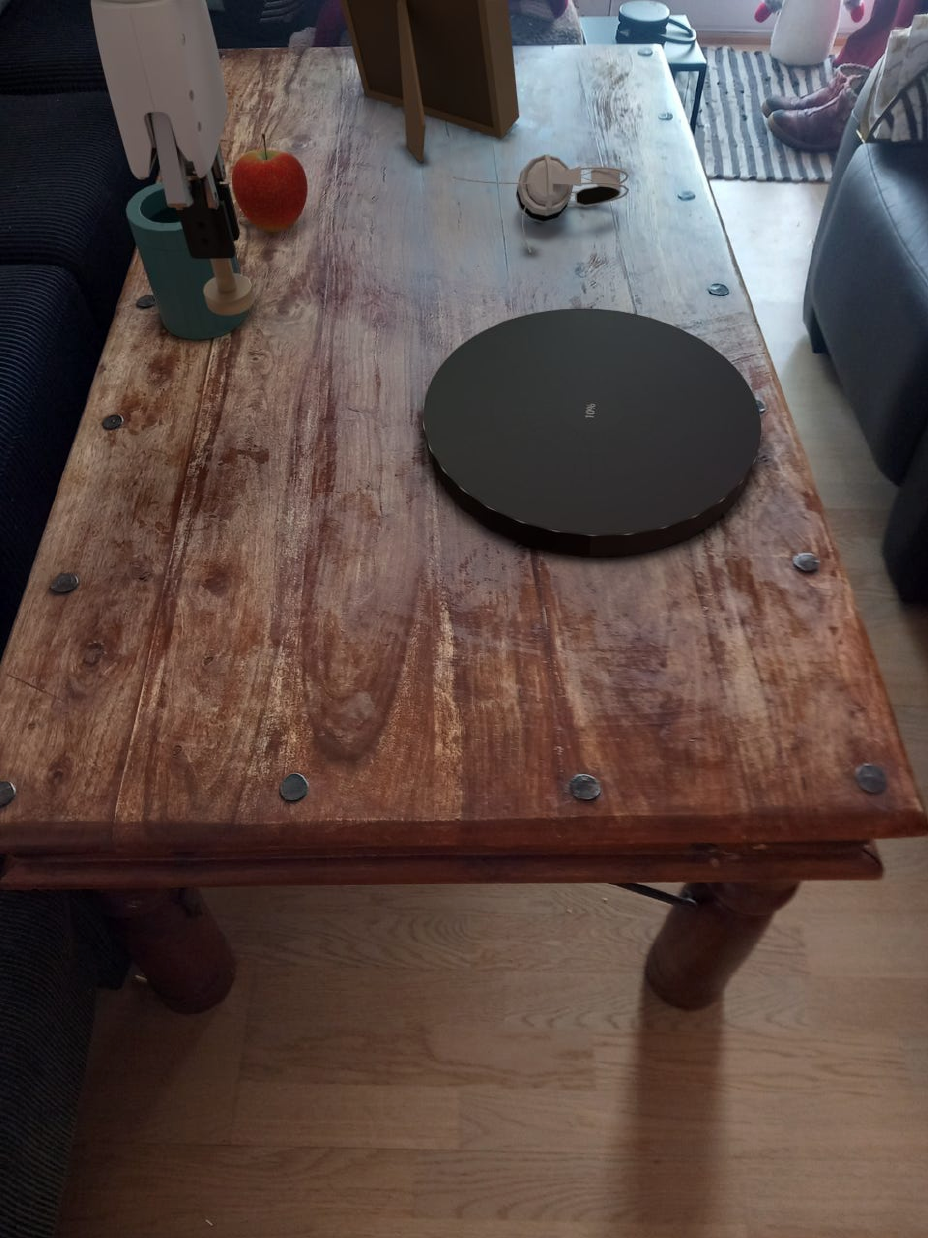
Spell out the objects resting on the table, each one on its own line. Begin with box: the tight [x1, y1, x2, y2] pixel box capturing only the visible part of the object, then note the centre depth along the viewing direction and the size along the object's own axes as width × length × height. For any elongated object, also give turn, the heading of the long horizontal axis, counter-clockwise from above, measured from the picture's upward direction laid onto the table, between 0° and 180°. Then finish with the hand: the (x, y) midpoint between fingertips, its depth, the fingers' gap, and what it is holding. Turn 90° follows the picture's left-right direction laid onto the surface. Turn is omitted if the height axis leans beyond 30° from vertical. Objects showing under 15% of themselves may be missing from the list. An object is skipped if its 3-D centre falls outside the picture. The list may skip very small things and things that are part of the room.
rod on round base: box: [188, 176, 256, 315], centre depth 66 cm, size 4×4×10 cm
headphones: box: [452, 154, 630, 254], centre depth 101 cm, size 8×10×20 cm
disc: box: [422, 307, 762, 558], centre depth 83 cm, size 30×30×3 cm
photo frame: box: [340, 0, 520, 163], centre depth 108 cm, size 15×22×25 cm
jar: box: [125, 181, 250, 341], centre depth 91 cm, size 9×9×12 cm
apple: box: [231, 133, 309, 233], centre depth 102 cm, size 8×8×10 cm
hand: (216, 246), depth 66 cm, fingers closed on rod on round base, 1 cm apart
